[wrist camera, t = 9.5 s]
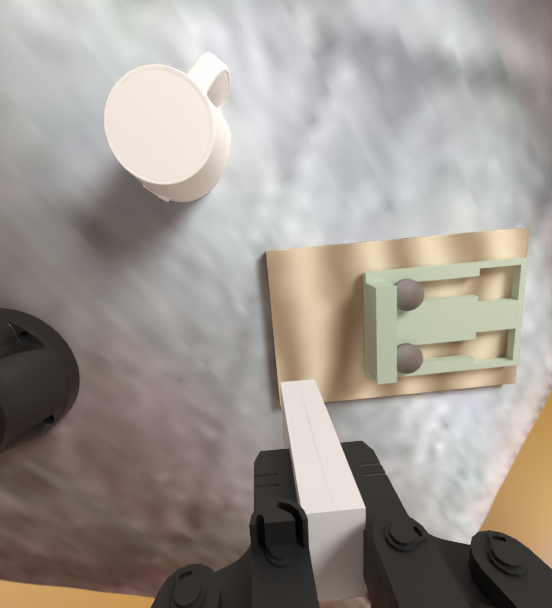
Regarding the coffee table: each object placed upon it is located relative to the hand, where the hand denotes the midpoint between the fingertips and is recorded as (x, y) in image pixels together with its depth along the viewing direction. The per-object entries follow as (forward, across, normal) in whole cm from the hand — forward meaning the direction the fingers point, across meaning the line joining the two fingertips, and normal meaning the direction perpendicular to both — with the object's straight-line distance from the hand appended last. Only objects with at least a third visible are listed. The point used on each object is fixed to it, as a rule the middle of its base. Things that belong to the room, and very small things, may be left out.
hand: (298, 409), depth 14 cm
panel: (+20, +18, -3) cm, 28 cm away
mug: (+23, -7, +16) cm, 29 cm away
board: (+22, +14, -3) cm, 26 cm away
